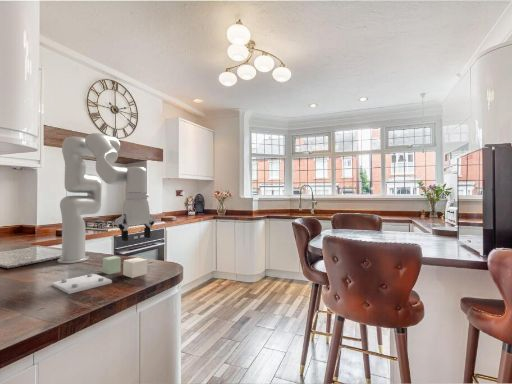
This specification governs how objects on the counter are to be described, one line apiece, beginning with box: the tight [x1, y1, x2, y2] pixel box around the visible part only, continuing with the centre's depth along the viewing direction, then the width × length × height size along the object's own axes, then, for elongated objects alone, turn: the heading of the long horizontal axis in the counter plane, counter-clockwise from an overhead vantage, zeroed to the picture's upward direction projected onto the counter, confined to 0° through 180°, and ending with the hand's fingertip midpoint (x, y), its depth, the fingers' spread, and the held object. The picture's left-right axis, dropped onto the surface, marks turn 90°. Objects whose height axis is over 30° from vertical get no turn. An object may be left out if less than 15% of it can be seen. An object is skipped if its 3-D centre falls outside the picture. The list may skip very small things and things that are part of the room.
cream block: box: [122, 257, 148, 279], centre depth 112 cm, size 6×6×6 cm
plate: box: [51, 273, 113, 295], centre depth 99 cm, size 14×14×2 cm
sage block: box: [102, 255, 122, 275], centre depth 115 cm, size 5×5×6 cm
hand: (136, 239), depth 112 cm, fingers open, 9 cm apart
